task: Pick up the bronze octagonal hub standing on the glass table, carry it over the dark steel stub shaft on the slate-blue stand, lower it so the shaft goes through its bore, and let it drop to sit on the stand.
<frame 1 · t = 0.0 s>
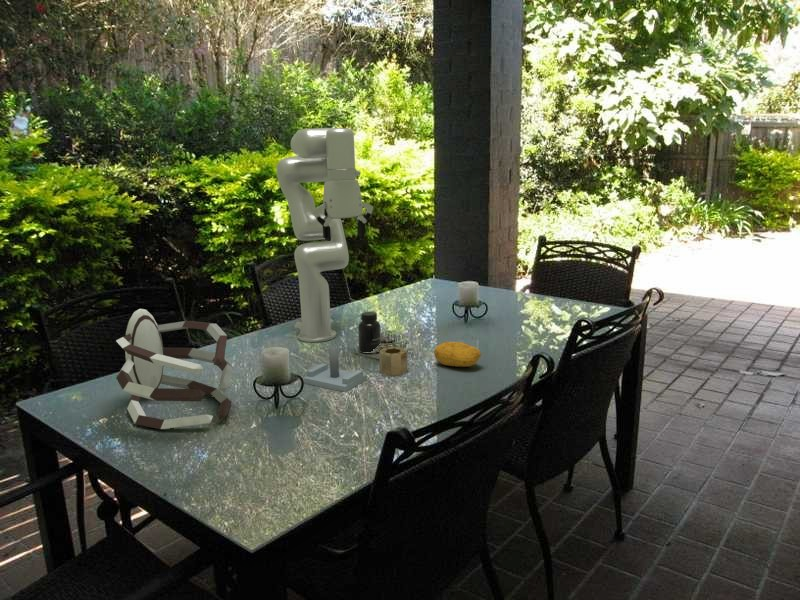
hand: (344, 238, 181), 37 cm above the table, tool pointing down, fingers open, 9 cm apart
shaft stand: (335, 381, 179), on the table
supplement bottle: (370, 351, 204), on the table
disc with segmented arms: (178, 411, 163), on the table
hub: (393, 371, 186), on the table
potato: (457, 366, 188), on the table
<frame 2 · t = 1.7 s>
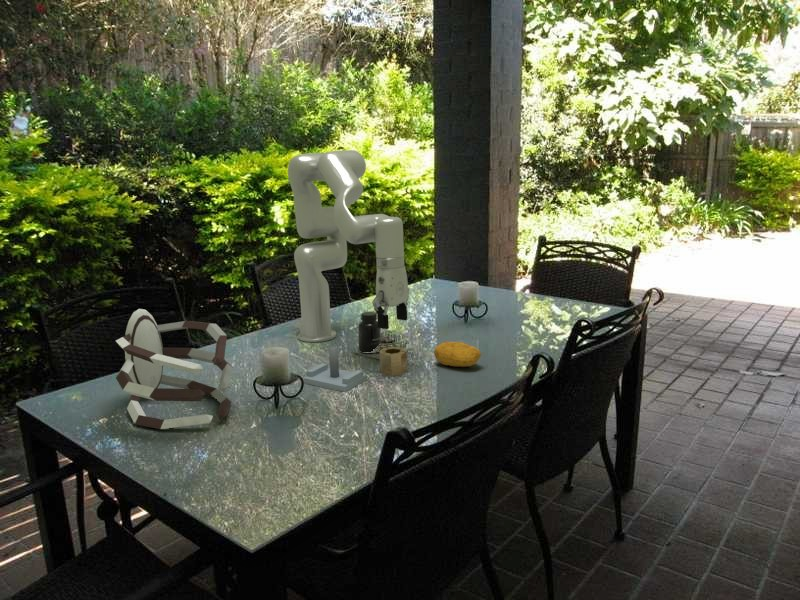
hand: (392, 323, 182), 14 cm above the table, tool pointing down, fingers open, 9 cm apart
nothing on the table moved.
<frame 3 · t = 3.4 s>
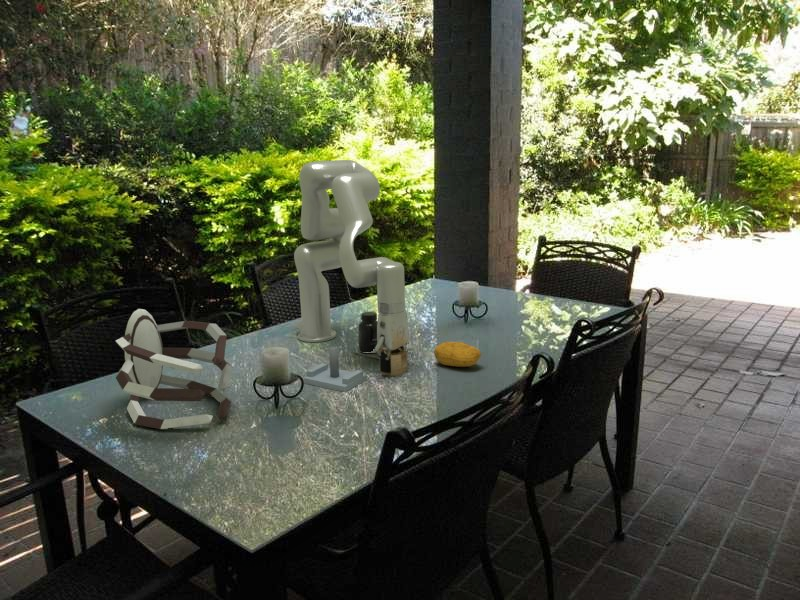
hand: (393, 367, 185), 1 cm above the table, tool pointing down, fingers closed on hub, 7 cm apart
hub: (393, 371, 186), on the table, touching gripper
everything else where it was.
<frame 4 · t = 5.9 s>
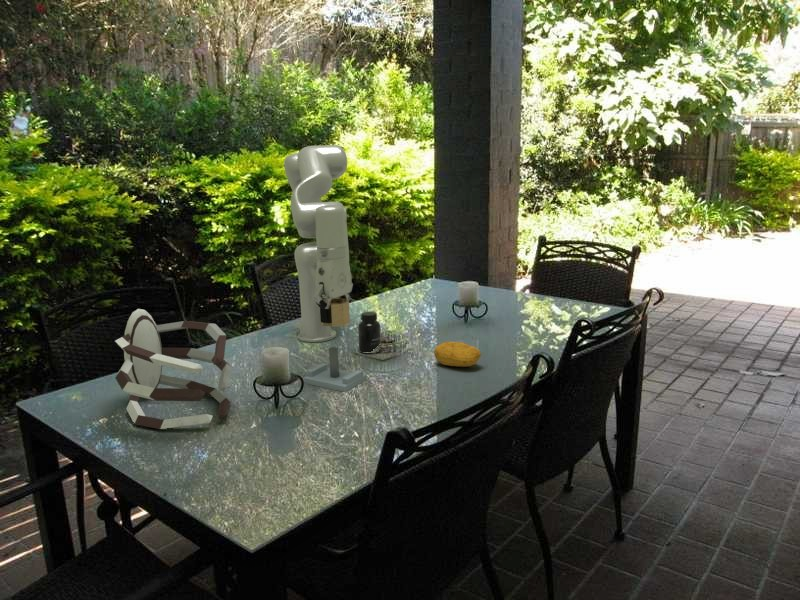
hand: (335, 318, 175), 18 cm above the table, tool pointing down, fingers closed on hub, 7 cm apart
hub: (335, 322, 176), point 16 cm above the table, touching gripper
everything else where it was.
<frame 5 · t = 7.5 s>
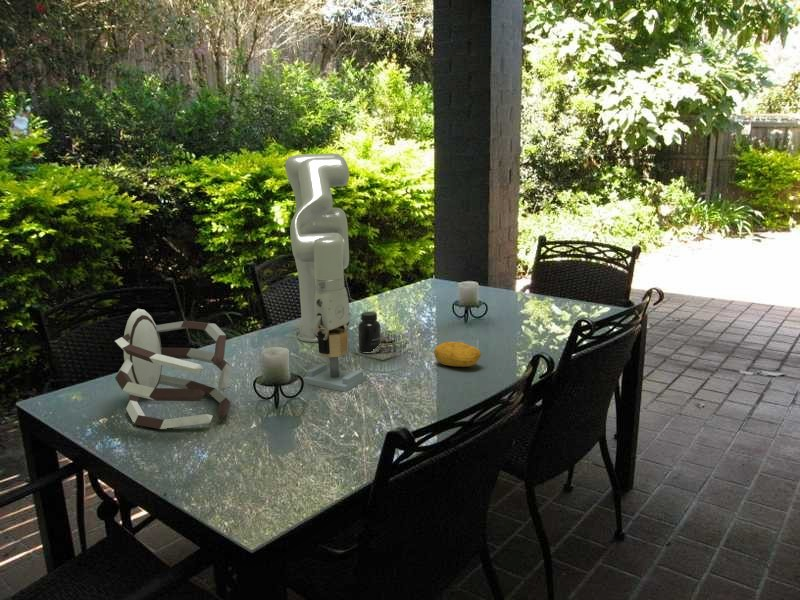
hand: (333, 348, 177), 9 cm above the table, tool pointing down, fingers closed on hub, 7 cm apart
hub: (333, 352, 177), point 8 cm above the table, touching gripper
everything else where it was.
when the fingers open (4 cm above the table, at t = 8.9 s): hub drops 1 cm, resting on shaft stand.
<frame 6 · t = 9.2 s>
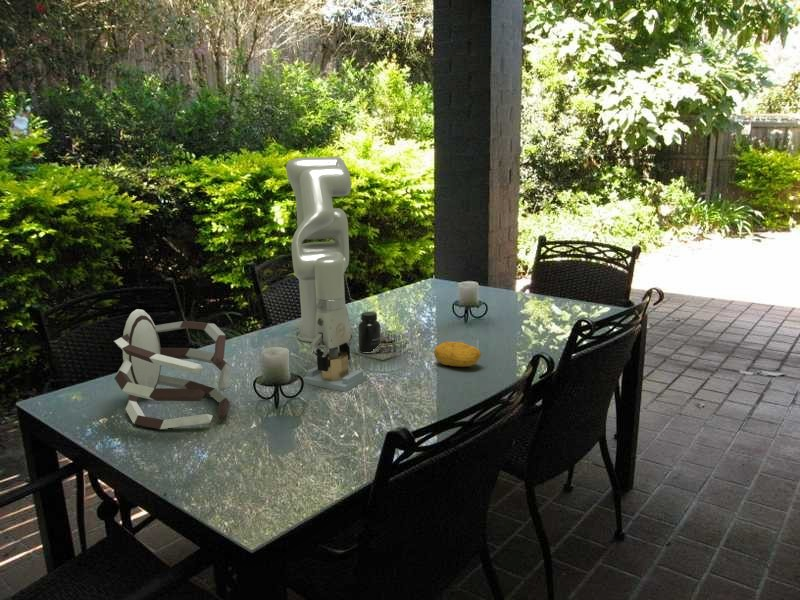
hand: (334, 364, 178), 5 cm above the table, tool pointing down, fingers open, 9 cm apart
hub: (334, 376, 179), point 1 cm above the table, touching shaft stand
everything else where it was.
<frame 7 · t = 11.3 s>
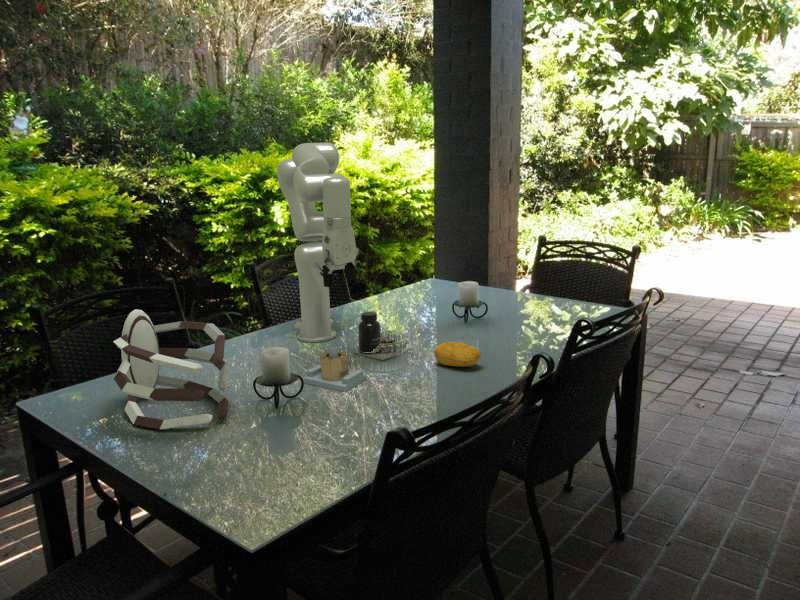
hand: (339, 282, 186), 25 cm above the table, tool pointing down, fingers open, 9 cm apart
nothing on the table moved.
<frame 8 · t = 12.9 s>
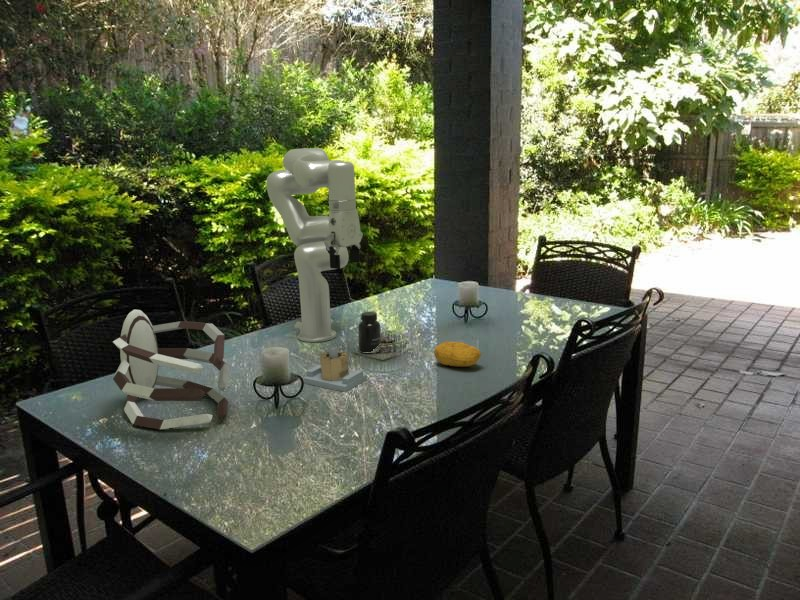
hand: (345, 265, 191), 28 cm above the table, tool pointing down, fingers open, 9 cm apart
nothing on the table moved.
at the end: hub 0.1 cm off-centre on the shaft stand, point 1.5 cm above the shaft stand's base; hub tilted 0°; the gripper is holding nothing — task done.
